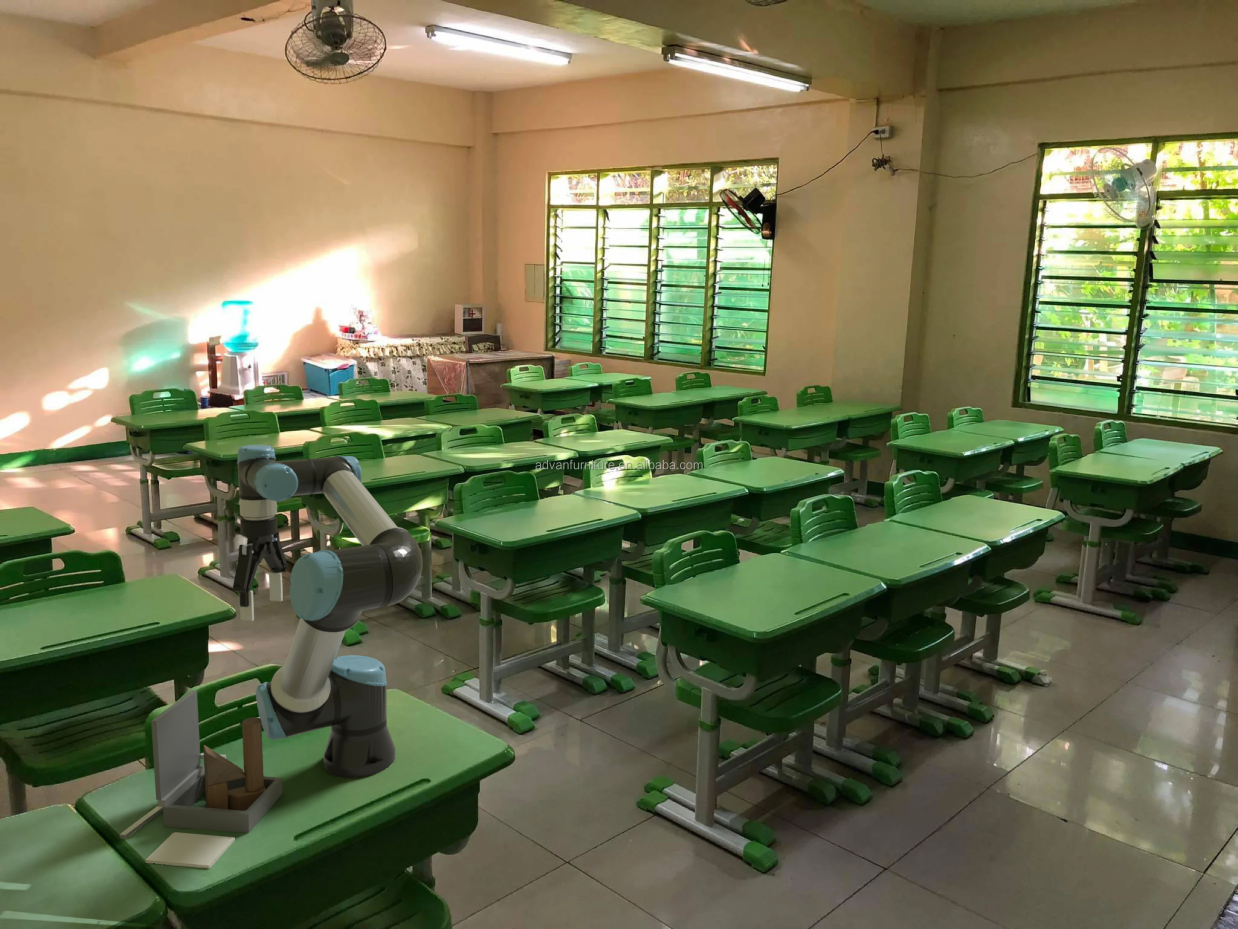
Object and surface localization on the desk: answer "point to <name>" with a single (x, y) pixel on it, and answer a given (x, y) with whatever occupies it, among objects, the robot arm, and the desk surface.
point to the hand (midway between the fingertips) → (262, 610)
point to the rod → (141, 822)
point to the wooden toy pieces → (236, 772)
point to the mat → (190, 850)
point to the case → (196, 775)
